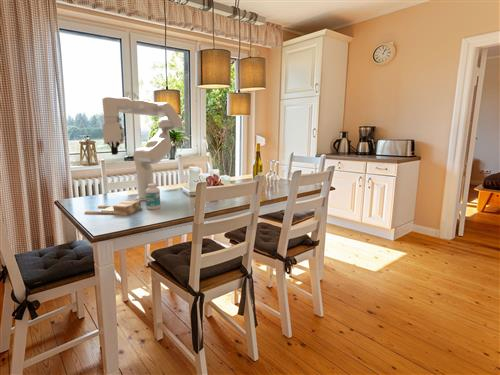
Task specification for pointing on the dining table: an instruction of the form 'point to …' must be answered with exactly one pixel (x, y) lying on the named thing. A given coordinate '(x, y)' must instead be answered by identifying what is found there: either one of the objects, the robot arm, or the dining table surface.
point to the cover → (108, 209)
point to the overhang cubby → (121, 208)
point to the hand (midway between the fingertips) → (114, 154)
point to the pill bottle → (152, 197)
